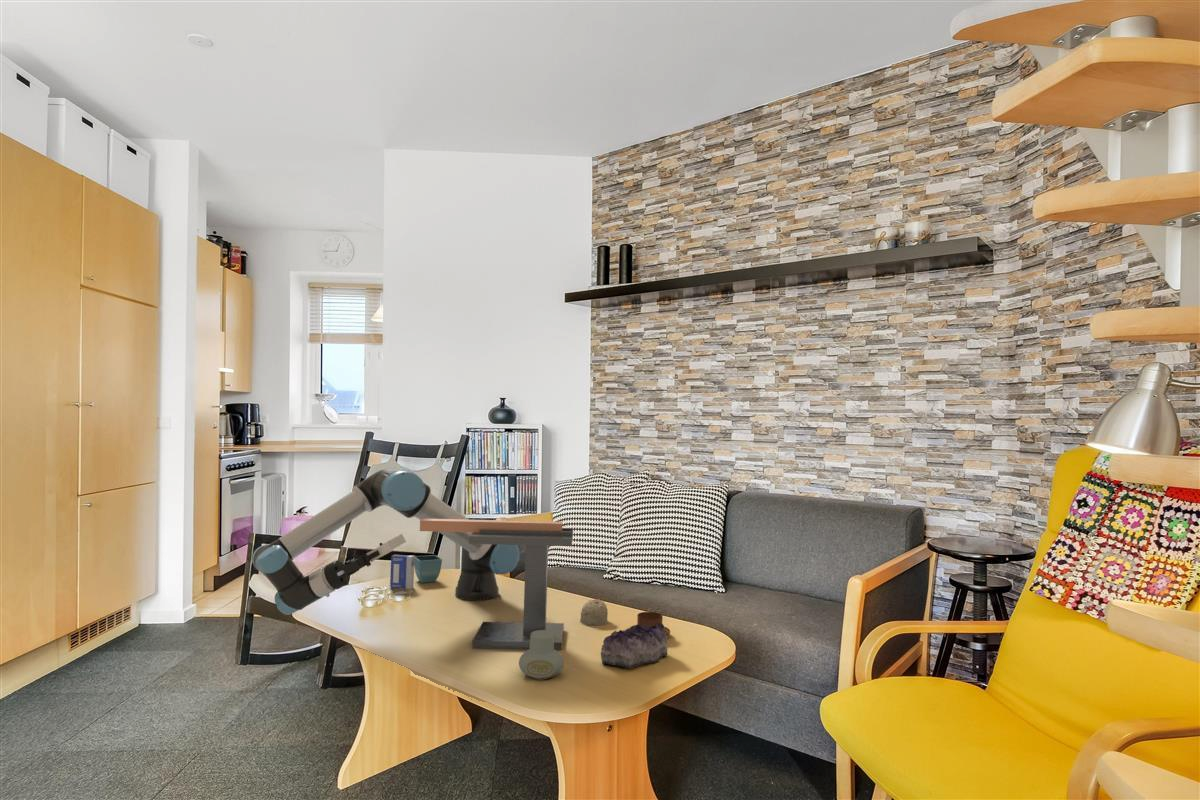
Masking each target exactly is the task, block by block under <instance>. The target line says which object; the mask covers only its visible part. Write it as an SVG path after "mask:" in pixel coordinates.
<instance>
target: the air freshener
mask: <svg viewBox="0 0 1200 800" xmlns="http://www.w3.org/2000/svg"><path fill="white" fill-rule="evenodd" d="M564 660H565V659H564V657H563V655H562V654H561V652H559V650H554V633H553V632H551V631H547V630H537V631H534V632H532V633H531V634H530V649H526V651H524V652H523V653H522V654H521V655H520V657H519V659H518V666H519V668H520V670H521V672H522V673H523V674H525V675H526V676H528V677H530V678H533V679H535V680H546V679H550V678H552V677H554V676H556V675H557V674H559V673H560V672H561V671H562V669H563V668H564V665H565V661H564Z"/></svg>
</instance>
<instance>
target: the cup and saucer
mask: <svg viewBox="0 0 1200 800" xmlns="http://www.w3.org/2000/svg"><path fill="white" fill-rule="evenodd" d="M663 617H664V616H663V614H661V613H659V612H654V611H643V612H639V613H637V620H636V621H637V624H636V625H642V626H644V625H645V624H647V625H649V626H654V625H655V626H657V625H658V623H659V624H660V625H661V624H663ZM663 626H664V624H663ZM630 627H633V625H631V626H630ZM630 627H629V628H628V629H630ZM664 630H665V633H666V636H667V637H668V636H669V635H670V634H671V630H670V628H668V627H666V626H664Z"/></svg>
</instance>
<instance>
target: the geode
mask: <svg viewBox="0 0 1200 800" xmlns="http://www.w3.org/2000/svg"><path fill="white" fill-rule="evenodd" d="M663 625H664V624H663V623H662V624H661V625H660V624H659V623H658V625H657V626H655V625H654V626H649V625H647V624H645V625H644V626H642V625H637V624H634V625H633V624H632V626H633V627H631V626H630V627H629V628H630V629H629V628H626V629H624V630H622V629H620V630H618V631H617V630H614V631H613V632H611V633H610V635H608V636H606V637H605V638H604V639H603V644H602V645H601V650H600V658H601V663H602V664H603V665H605V664H606V665H609V666H615V667H616V666H618V667H623V668H625V669H632V668H636V667H637V666H640V665H647V664H656V663H658V662H659V661H660V659H661V657H666V656H667V657H668V645H667V644H668V636H666V633H665V630H664V627H665V626H663Z"/></svg>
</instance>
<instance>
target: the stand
mask: <svg viewBox="0 0 1200 800" xmlns="http://www.w3.org/2000/svg"><path fill="white" fill-rule="evenodd" d="M573 537H574V528H573V527H562V531H528V530H485V529H480V533H478V532H473V533H472V534H471V535H470V536H469V544H498V545H517V546H525V560H524V561H525V562H524V590H523V592H524V594H523V622H521V621H520V622H519V621H518V622H517V621H509V622H508V621H482V622H481V625H480V627H479V628H478V630H477V632H476V634H475V635H474V638H473V640H472V649H488V650H491V649H492V650H494V649H495V650H497V649H498V650H529V649H530V634H531V633H532V632H534V631H537V630H547V631H551V632H553V633H554V650H556V651H562V648H563V640H564V628H565V627H564V626H565V625H564V623H563V622H547V598H548V594H547V593H548V567H549V566H548V565H549V563H548V561H549V547H550V546H553V547H572V545H573Z"/></svg>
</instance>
